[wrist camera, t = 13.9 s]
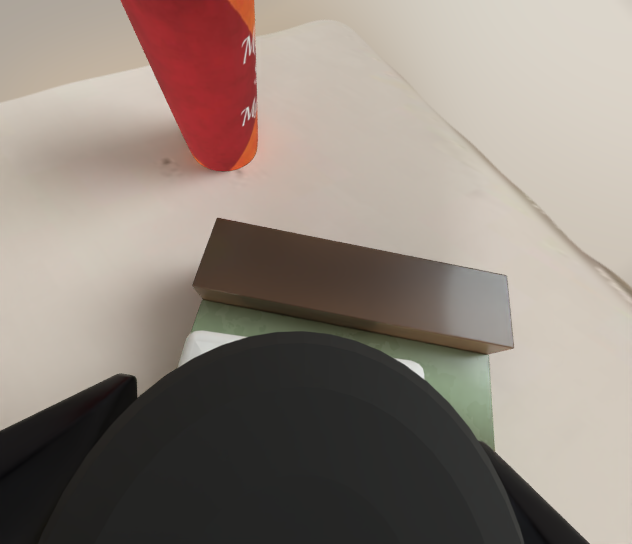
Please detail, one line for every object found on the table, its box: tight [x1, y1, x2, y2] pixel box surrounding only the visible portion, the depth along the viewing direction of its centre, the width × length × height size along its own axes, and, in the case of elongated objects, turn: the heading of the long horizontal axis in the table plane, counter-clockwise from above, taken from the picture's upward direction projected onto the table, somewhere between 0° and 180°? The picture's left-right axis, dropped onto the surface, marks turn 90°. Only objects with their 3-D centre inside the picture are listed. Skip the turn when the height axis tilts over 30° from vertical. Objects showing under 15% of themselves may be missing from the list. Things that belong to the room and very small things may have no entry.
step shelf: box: [190, 218, 514, 451], centre depth 15 cm, size 20×16×6 cm
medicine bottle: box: [38, 330, 524, 544], centre depth 8 cm, size 7×7×12 cm
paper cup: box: [121, 0, 258, 171], centre depth 19 cm, size 8×8×14 cm
